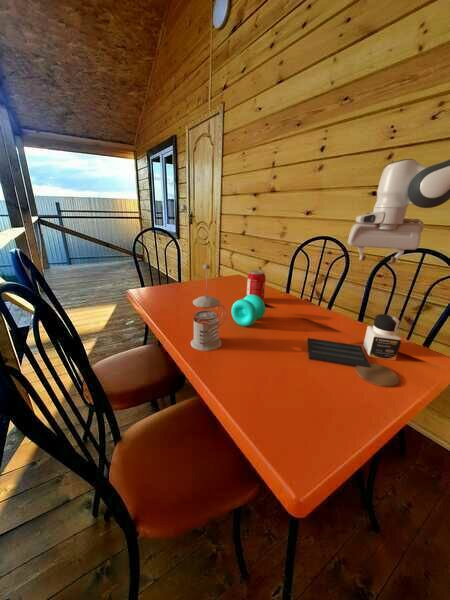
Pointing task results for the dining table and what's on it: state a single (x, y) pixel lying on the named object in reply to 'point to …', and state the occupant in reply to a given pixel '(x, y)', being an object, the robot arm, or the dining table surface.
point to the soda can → (256, 283)
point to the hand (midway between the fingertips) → (377, 261)
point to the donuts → (248, 310)
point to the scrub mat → (337, 353)
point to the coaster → (378, 375)
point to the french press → (206, 338)
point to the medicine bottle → (383, 338)
